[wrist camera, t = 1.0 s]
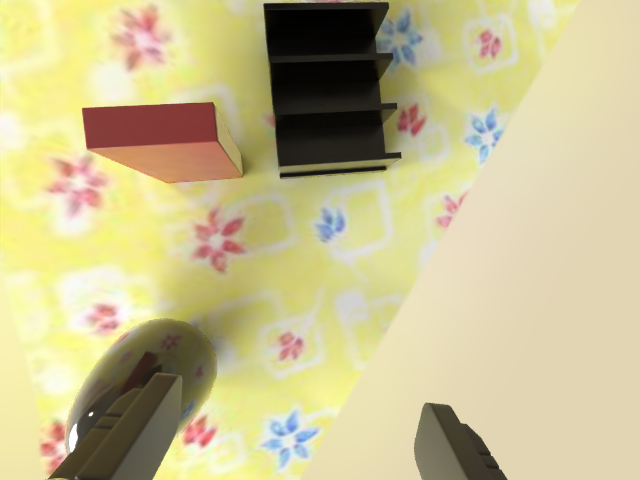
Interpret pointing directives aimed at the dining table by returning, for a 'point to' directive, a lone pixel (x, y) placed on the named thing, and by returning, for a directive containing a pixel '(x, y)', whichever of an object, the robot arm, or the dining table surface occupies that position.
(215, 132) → the book
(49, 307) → the dining table surface
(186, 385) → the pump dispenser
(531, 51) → the dining table surface
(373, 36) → the book rack
